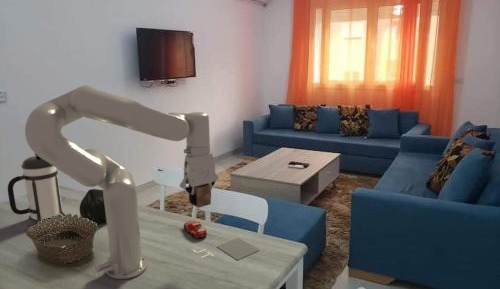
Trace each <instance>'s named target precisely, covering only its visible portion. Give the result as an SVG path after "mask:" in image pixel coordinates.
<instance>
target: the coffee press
mask: <svg viewBox="0 0 500 289" xmlns="http://www.w3.org/2000/svg"><path fill="white" fill-rule="evenodd" d="M20 166H21V169H22V172H23V174H22V175H21V176H19V175H18V176H15V177H13V178H12V179H11V180H9V182H8V184H7V195H8V201H9V206H10V209H11V211H12V212H13V213H15V214H16V215H26V214H29V215H28V219H29V220H34V221H36V224H37V223H38V222H39V221H41V220H43V221H45V220H44V219H46V218H51V217H52V216H56V217H59V218H60V219H62V217H64V216H65V217H66V214H65V213H64V212H63V207H62V199H61V191H60V184H59V176H58V174H59V170H58V169H57V168H56V167H54V166H53V165H51V164H50V163H48V162H46V161H45V160H43V159H42V158H40V157H39V156H38V155H36V154H35V153H34V156H30V157H27V158H26V159H24V160H23V161H22V164H21V165H20ZM23 180H24V182H25V190H26V196H27V203H28V208H25V209H18V208H17V205H16V198H15V194H14V186H15V184H16V183H17V182H19V181H23ZM51 219H52V218H51Z"/></svg>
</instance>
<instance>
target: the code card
mask: <svg viewBox="0 0 500 289" xmlns="http://www.w3.org/2000/svg"><path fill="white" fill-rule="evenodd" d="M192 251H193V252H194V253H195V254H196V255H197V254H200V253H202V252H205V251H206V253H207V254H205V255H202V256H200V258H201V259H203V258H205V257H207V256H212V257H215V254H213V253H211V251H207V249H206V248H204V249H202V250H199V251H197V250H195V249H192Z"/></svg>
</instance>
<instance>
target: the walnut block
mask: <svg viewBox="0 0 500 289" xmlns="http://www.w3.org/2000/svg"><path fill="white" fill-rule="evenodd" d="M195 194H196V206H195V207H196V208H197V209H198V208H199V209H200V208H203V207H205V206H206V207H207V206H209V205H211V203H212V192H211V193H210V184H204V185H200V186H196V189H195ZM189 204H190V205H192V204H191V203H190V202H189Z"/></svg>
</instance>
